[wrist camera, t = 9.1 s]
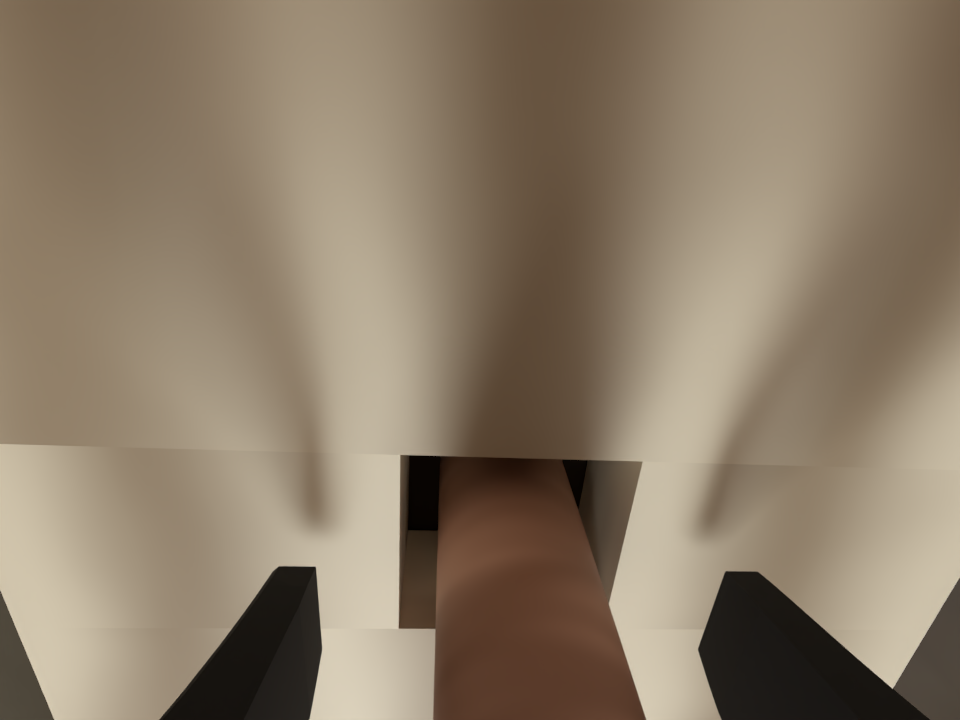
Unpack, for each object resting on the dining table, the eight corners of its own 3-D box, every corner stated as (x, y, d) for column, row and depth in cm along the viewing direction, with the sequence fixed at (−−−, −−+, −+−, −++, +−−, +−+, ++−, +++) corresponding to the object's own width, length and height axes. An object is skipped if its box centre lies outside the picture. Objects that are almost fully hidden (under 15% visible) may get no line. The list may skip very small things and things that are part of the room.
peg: (566, 411, 13) (795, 1000, 4) (550, 509, 14) (706, 1116, 6) (442, 407, 13) (428, 1020, 4) (437, 506, 14) (419, 1136, 5)
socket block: (1070, 38, 10) (1299, 12, 7) (763, 710, 18) (817, 813, 16) (-70, -72, 9) (-311, -157, 6) (157, 716, 17) (101, 832, 14)
